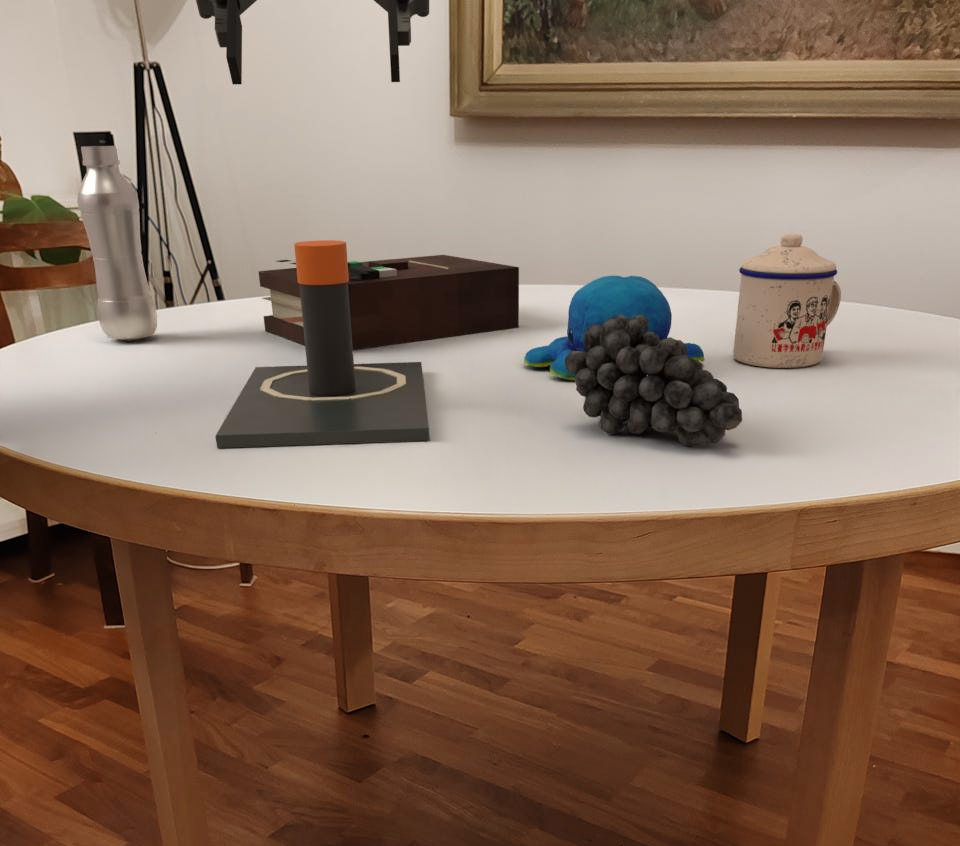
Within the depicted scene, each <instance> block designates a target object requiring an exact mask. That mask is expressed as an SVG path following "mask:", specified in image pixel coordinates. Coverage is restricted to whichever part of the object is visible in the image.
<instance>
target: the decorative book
mask: <svg viewBox="0 0 960 846" xmlns="http://www.w3.org/2000/svg"><path fill="white" fill-rule="evenodd" d="M347 261H348V275H349V281H348V291H349V305H350V319H351V332H352V346H353V351H354V350H355V351H356V350H362V349H369V348H375V347H383V346H389V345H398V344H406V343H412V342H420V341H427V340H435V339H442V338H448V337H456V336H463V335H470V334H471V335H472V334H479V333H485V332H493V331H501V330H508V329H509V330H510V329H515V328H520V267H519V266H514V265H508V264H503V263H496V262H490V261H484V260H477V259H472V258H466V257H460V256H454V255H449V254H448V255H447V254H437V255H426V256H414V257H401V258H391V259H390V258H389V259H378V260H367V261H357V260H352V259H347ZM276 262H277V263H286V262H287V263H288V262H289V264H290V265H296V262H292V260H290V259H281V260H276ZM258 279H259V287H261V288H263V289H267V290H269V293H270V296H268V297H267V296H266V297H261V299H262V300H265V301H269V302H270V303H271V312H272V315H271V314H270V315H263V323H264V331H265V332H267V333H269V334H273V335H275V336H278V337H281V338H283V339H286V340H288V341H292V342H294V343H297V344H300V345H302V346H305V339H304V329H303V318H302V308H301V297H300V287H299V283H298V279H297V268H296V267H290V268H279V269H278V268H277V269H268V270H258Z"/></svg>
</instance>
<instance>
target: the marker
mask: <svg viewBox="0 0 960 846" xmlns="http://www.w3.org/2000/svg"><path fill="white" fill-rule="evenodd" d="M293 246H294V256H295V257H294V258H295V263H296V264H295V265H296V266H295V268H297V279H298V283H299V287H300V297H301V308H302V318H303V329H304V339H305V345H304V349H305V360H306V366H307V371H308V381H309V391H310V393H311V394H314V395H319V396H339V395H345V394H349V393H352V392H354V391H355V390H356V387H355V373H354V364H355V362H354V361H355V360H354V350H353V346H352V332H351V319H350V305H349V291H348V281H349V275H348V261H347V260H348V248H347V242H346V241H344V240H333V239H332V240H330V239H329V240H327V239H326V240H306V241H305V240H304V241H299V242H298V241H297V242H295V243H294V244H293Z"/></svg>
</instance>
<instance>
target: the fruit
mask: <svg viewBox="0 0 960 846" xmlns="http://www.w3.org/2000/svg"><path fill="white" fill-rule="evenodd" d="M648 328H649V323H648V318H647V317H645V316H644V315H634V317H633V318H632V319H629V318H628V317H626V316H624V315H622V314H620V315H617V316H614V317H612V318H611V319H608V320H607V321H605V322H604V323H603V326H600V325H591V326H590V327H589V328H588V329H587V330H586V331H585V334H584V336H583V338H584V351H585V352H583V351H571V352H570V353H569V354H568V355H567V356H566V358H565V366H566V369H567V370H568V372H569V373H571V374H577V375H576V377H575V379H574V380H573V381H574V384H575V386H576V387H575V390H576V392H577V393H578V394H579V395H580V396H582V397H583V398H585V399H584V402H583V406H582V409H583V412H584V413H585V415H586V416H587V417H589V418H599V421H598V423H599V427H600V429H601V431H602V432H604V433H605V434H608V435H615V434H619V433H620V432H621V431H622V430H623V429H624V423H625V422H627V423H626V427H627V430H628V431H629V432H631V433H632V434H636V435H637V434H638V435H639V434H642V433H643V432H645V430H647V428H650V429H654V430H655V431H656V432H659V433H669V432H676V435H677V438H678V441H679V442H680V443H681V444H682V445H683V446H685V447H693V446H695V445H697V444H698V442H699V441H700V439H701V440H702V442H703V443H705V444H707V445H712V444H713V445H714V444H718V443H719V442H720V441H722V440H723V439H724V438H725V435H726V431H731V430H734V429H736V428H737V427H738V426H739V425H741V423H742V422H743V411H742V409H741V408H740V400H739V398H738V396H737V395H736V394H735V393H734V392H729V391H728V387H727V384H725V383H724V382H723V381H721V380H719V379H718V378H714V376H713V374H712V372H711V371H709V370H707V369H703V365H702V364H701V361H699V362H698V361H696V360H694V359H692V358H689V357H688V356H687V351H688V350H687V347H686V345H685V344H684V343H685V342H684V341H683V340H681V339H675V338H673V337H671V336H668V337H667V338H666V339H662V340H661V341H660V340H659V336H658V335H657V334H656V333H654V332H646V331H647V329H648ZM645 332H646V333H645Z"/></svg>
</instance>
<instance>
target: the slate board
mask: <svg viewBox="0 0 960 846" xmlns="http://www.w3.org/2000/svg"><path fill="white" fill-rule="evenodd" d="M422 365H423V364H422V361H405V362H403V361H402V362H374V363H354V373H355V387H356V390H355V391H354V392H352V393H349V394H345V395H339V396H319V395H314V394H311V393H310V391H309V381H308V371H307V365H281V366H279V365H278V366H277V365H276V366H255V367H254V370H253V371H252V372H251V374H250V376H249V378H248V380H247V381H246V383H245V384H244V386H243V388H242V389H241V392H240V393H239V395H238V397H237V398H236V399H235V402H234V403H233V405H232V407H231V409H230V410H229V412H228V413H227V415H226V417H225V419H224V420H223V422H222V423H221V425H220V428H219V429H218V431H217V432H216V434H215V443H216V449H230V448H231V449H233V448H234V449H235V448H259V447H261V448H263V447H287V446H288V447H290V446H292V447H293V446H315V445H319V446H321V445H343V444H344V445H345V444H370V443H372V444H373V443H374V444H375V443H398V442H399V443H400V442H425V441H427V442H428V441H430V427H429V426H430V425H429V417H428V408H427V399H426V391H425V383H424V374H423V373H424V372H423V366H422Z"/></svg>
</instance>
